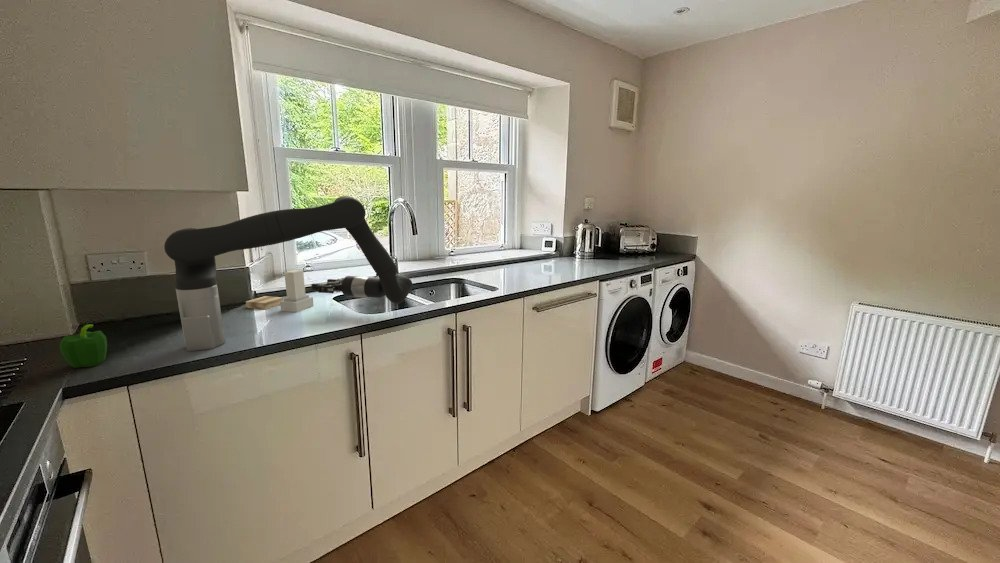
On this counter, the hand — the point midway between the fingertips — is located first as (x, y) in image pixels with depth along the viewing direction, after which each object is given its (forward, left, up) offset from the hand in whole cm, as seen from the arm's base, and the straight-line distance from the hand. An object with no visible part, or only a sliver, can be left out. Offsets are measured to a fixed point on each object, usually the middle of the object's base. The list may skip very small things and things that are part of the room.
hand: (320, 284), depth 146 cm
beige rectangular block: (+6, +9, -10) cm, 15 cm away
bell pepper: (-34, +52, -10) cm, 63 cm away
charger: (+6, +9, -7) cm, 13 cm away
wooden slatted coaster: (+15, +21, -10) cm, 28 cm away
